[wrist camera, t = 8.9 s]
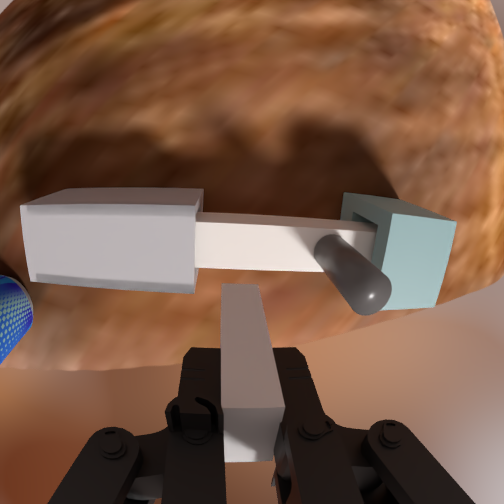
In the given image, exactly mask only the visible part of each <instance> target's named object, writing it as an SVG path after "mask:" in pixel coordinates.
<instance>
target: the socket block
mask: <svg viewBox="0 0 504 504" xmlns="http://www.w3.org/2000/svg"><path fill="white" fill-rule="evenodd" d="M340 220H343V221H355V222H367V223H375V224H377V225H378V228H377V234H376V240H375V245H374V250H373V255H372V260H371V263H372V264H373V265H375V266H376V267H377V268H378V269H379V270H380V271H382V272H383V273H384V274H385V275H386V276H387V277H388V278H389V279H390V281H391V285H392V292H391V296H390V298H389V300H388V302H387V304H386V305H385V306H384V307H383V308H382V309H381V310H396V309H414V308H429V307H435V304H436V301H437V297H438V294H439V291H440V288H441V284H442V281H443V277H444V274H445V270H446V266H447V263H448V259H449V255H450V251H451V247H452V242H453V238H454V233H455V228H456V224H457V222H456V221H454V220H451V219H449V218H446V217H444V216H442V215H439V214H437V213H434V212H432V211H429V210H427V209H424V208H421V207H419V206H416V205H414V204H411V203H408V202H406V201H403V200H400V199H394V198H387V197H380V196H372V195H364V194H356V193H348V192H344V194H343V202H342V210H341V217H340Z"/></svg>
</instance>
